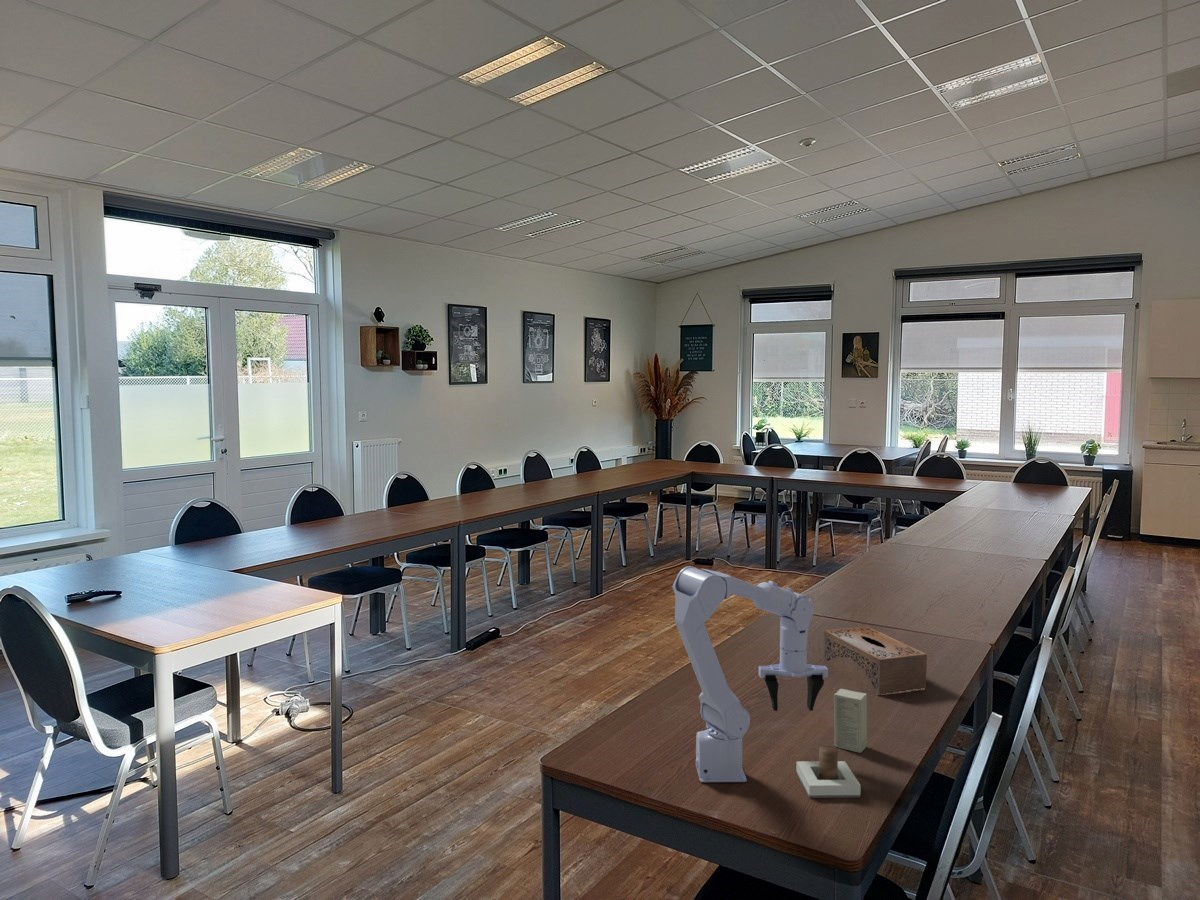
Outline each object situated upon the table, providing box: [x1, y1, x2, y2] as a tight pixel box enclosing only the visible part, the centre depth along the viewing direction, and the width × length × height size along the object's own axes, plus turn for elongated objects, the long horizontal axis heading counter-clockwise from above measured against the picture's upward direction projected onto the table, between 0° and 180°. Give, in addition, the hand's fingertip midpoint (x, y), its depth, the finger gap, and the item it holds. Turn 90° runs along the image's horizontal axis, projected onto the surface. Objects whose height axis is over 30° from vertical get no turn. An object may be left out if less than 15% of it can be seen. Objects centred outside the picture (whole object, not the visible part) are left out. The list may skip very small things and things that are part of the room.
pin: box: [818, 745, 839, 780], centre depth 160 cm, size 4×4×7 cm
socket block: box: [795, 760, 862, 799], centre depth 161 cm, size 10×10×2 cm
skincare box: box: [833, 688, 868, 754], centre depth 178 cm, size 6×4×12 cm
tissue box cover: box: [823, 625, 928, 695], centre depth 221 cm, size 26×14×10 cm, turn 17°
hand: (792, 708), depth 173 cm, fingers open, 7 cm apart
